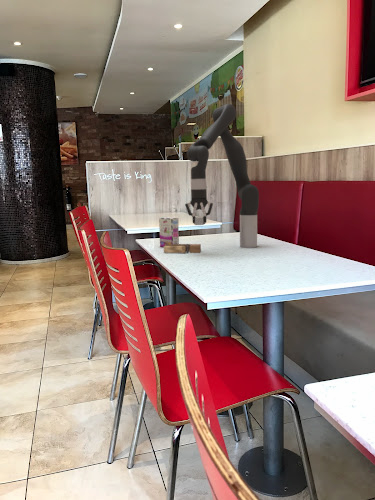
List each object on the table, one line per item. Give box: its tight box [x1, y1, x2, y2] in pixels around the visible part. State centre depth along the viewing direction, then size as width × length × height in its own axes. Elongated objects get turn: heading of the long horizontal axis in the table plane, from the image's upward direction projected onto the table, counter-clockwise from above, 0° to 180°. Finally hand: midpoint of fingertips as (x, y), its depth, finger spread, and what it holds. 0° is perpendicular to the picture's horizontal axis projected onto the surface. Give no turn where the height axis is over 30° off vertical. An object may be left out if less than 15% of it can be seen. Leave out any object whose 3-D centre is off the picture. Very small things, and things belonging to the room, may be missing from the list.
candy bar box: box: [158, 217, 180, 249], centre depth 234 cm, size 11×5×16 cm, turn 42°
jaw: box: [163, 246, 187, 254], centre depth 216 cm, size 11×3×3 cm, turn 82°
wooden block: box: [166, 243, 202, 254], centre depth 218 cm, size 7×18×4 cm, turn 82°
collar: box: [194, 216, 205, 226], centre depth 209 cm, size 4×4×4 cm
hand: (199, 223), depth 209 cm, fingers closed on collar, 4 cm apart
